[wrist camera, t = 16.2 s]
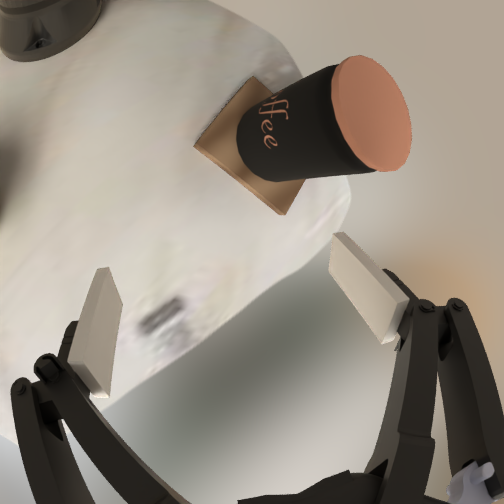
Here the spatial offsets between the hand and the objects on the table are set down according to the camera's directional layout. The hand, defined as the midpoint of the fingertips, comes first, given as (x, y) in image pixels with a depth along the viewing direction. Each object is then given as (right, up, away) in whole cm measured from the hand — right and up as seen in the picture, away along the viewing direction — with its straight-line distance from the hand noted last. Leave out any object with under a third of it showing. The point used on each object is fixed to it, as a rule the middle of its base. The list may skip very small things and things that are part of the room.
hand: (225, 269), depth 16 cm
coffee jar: (+4, +15, +20) cm, 25 cm away
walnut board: (+3, +15, +21) cm, 26 cm away
